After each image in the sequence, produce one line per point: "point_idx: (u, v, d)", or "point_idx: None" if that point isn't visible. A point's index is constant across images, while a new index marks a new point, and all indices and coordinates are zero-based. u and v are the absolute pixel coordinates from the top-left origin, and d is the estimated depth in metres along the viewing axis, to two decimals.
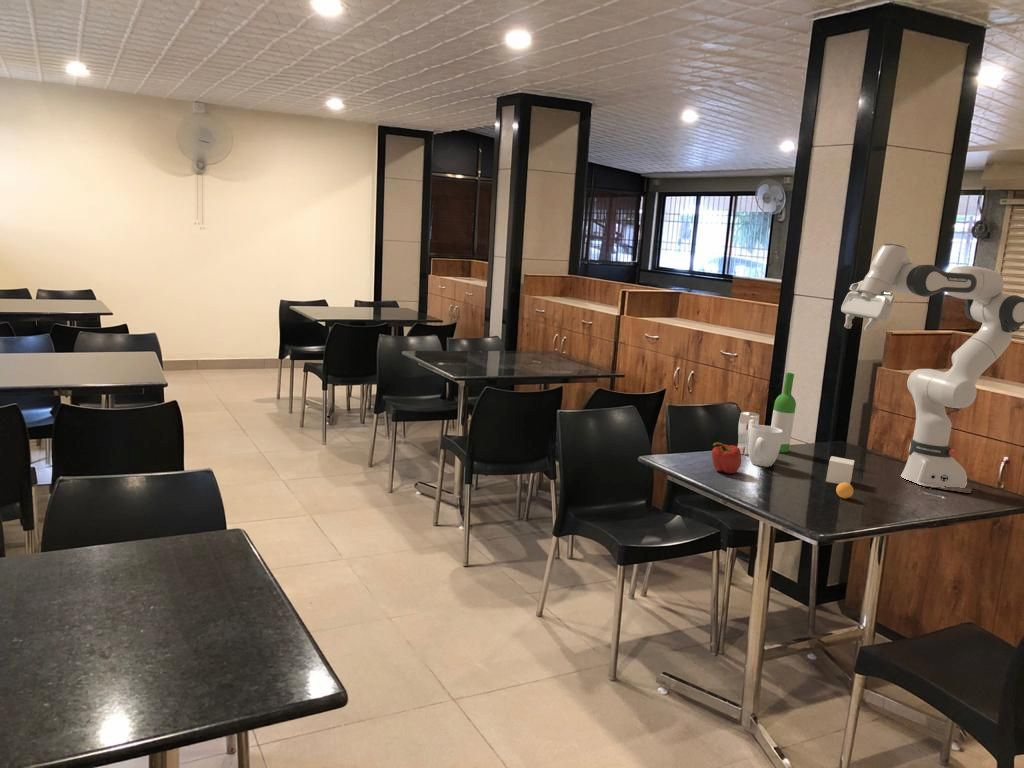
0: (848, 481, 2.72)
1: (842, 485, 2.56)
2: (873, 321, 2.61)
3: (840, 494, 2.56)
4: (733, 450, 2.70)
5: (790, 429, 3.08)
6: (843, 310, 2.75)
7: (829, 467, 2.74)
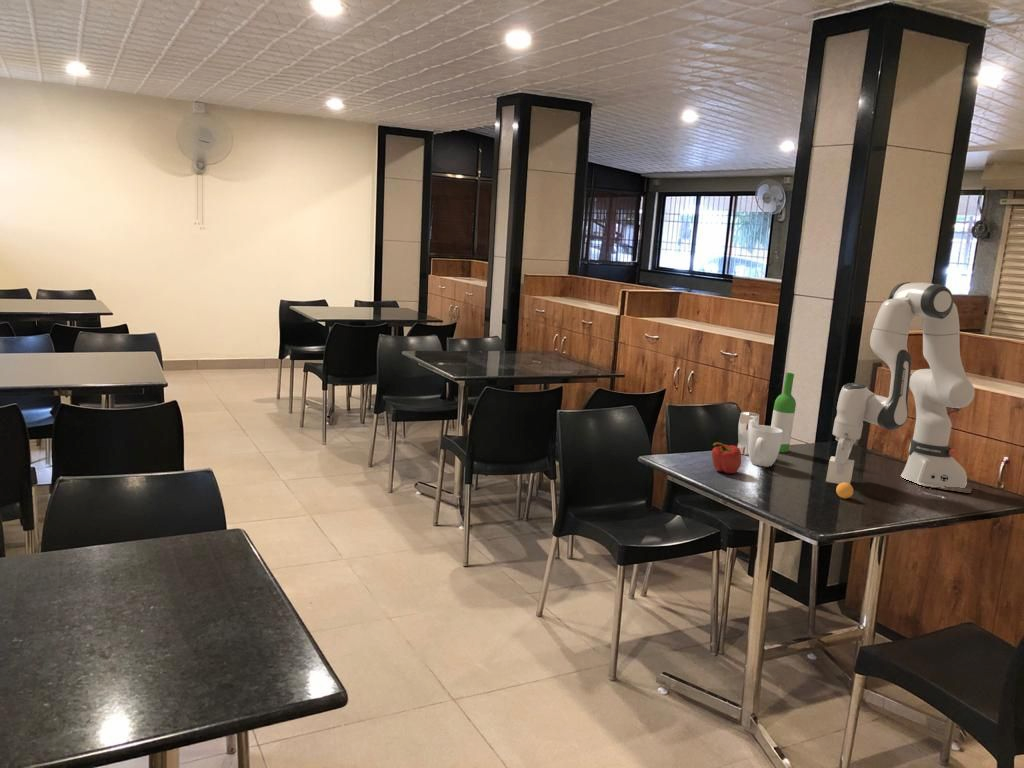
0: (848, 481, 2.72)
1: (842, 485, 2.56)
2: (840, 464, 2.70)
3: (840, 494, 2.56)
4: (733, 450, 2.70)
5: (790, 429, 3.08)
6: None
7: (829, 467, 2.74)
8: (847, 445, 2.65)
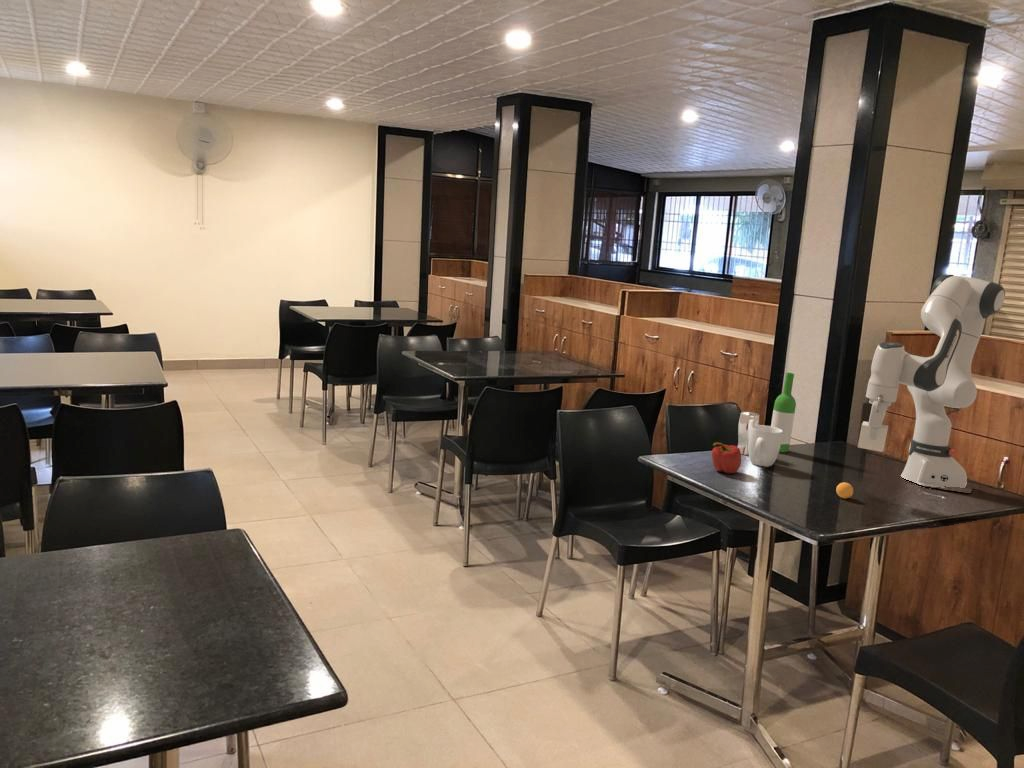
0: (882, 447, 2.54)
1: (842, 485, 2.56)
2: (874, 428, 2.52)
3: (840, 494, 2.56)
4: (733, 450, 2.70)
5: (790, 429, 3.08)
6: None
7: (861, 432, 2.56)
8: (882, 407, 2.47)
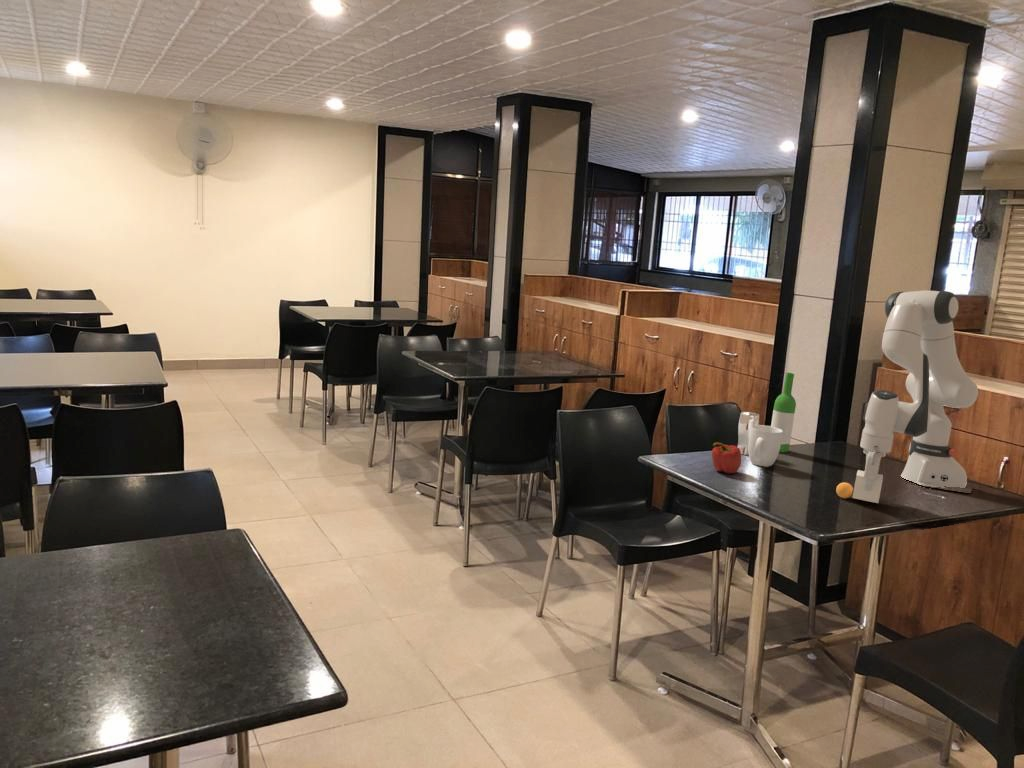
0: (877, 498, 2.50)
1: (842, 485, 2.56)
2: (869, 479, 2.47)
3: (840, 494, 2.56)
4: (733, 450, 2.70)
5: (790, 429, 3.08)
6: None
7: (856, 482, 2.52)
8: (878, 459, 2.43)
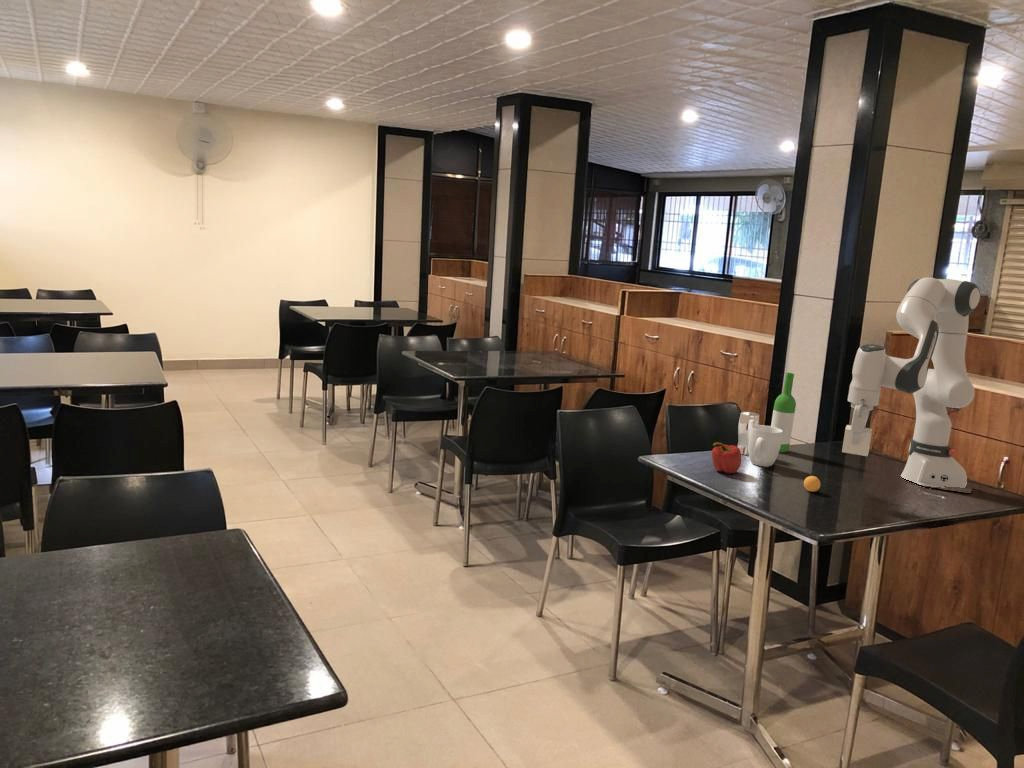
0: (866, 451, 2.49)
1: (817, 488, 2.59)
2: (856, 433, 2.48)
3: (812, 480, 2.59)
4: (733, 450, 2.70)
5: (790, 429, 3.08)
6: None
7: (845, 436, 2.51)
8: (864, 411, 2.43)
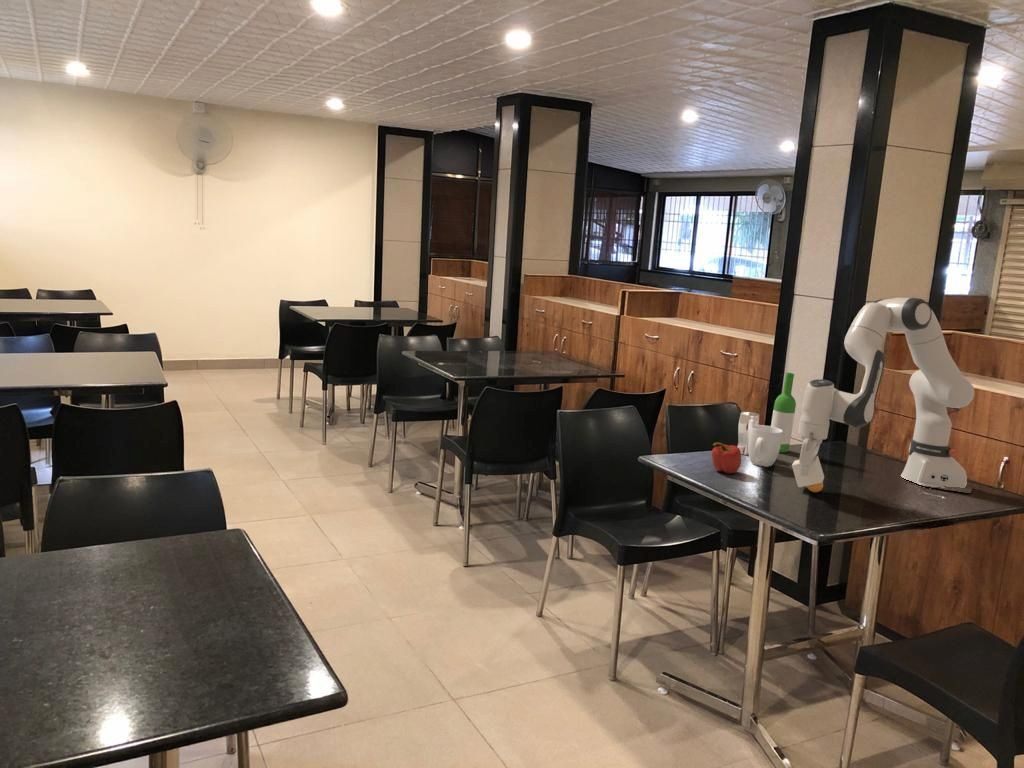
0: (819, 478, 2.56)
1: (818, 490, 2.59)
2: (805, 465, 2.55)
3: None
4: (733, 450, 2.70)
5: (790, 429, 3.08)
6: None
7: (794, 472, 2.59)
8: (812, 445, 2.51)
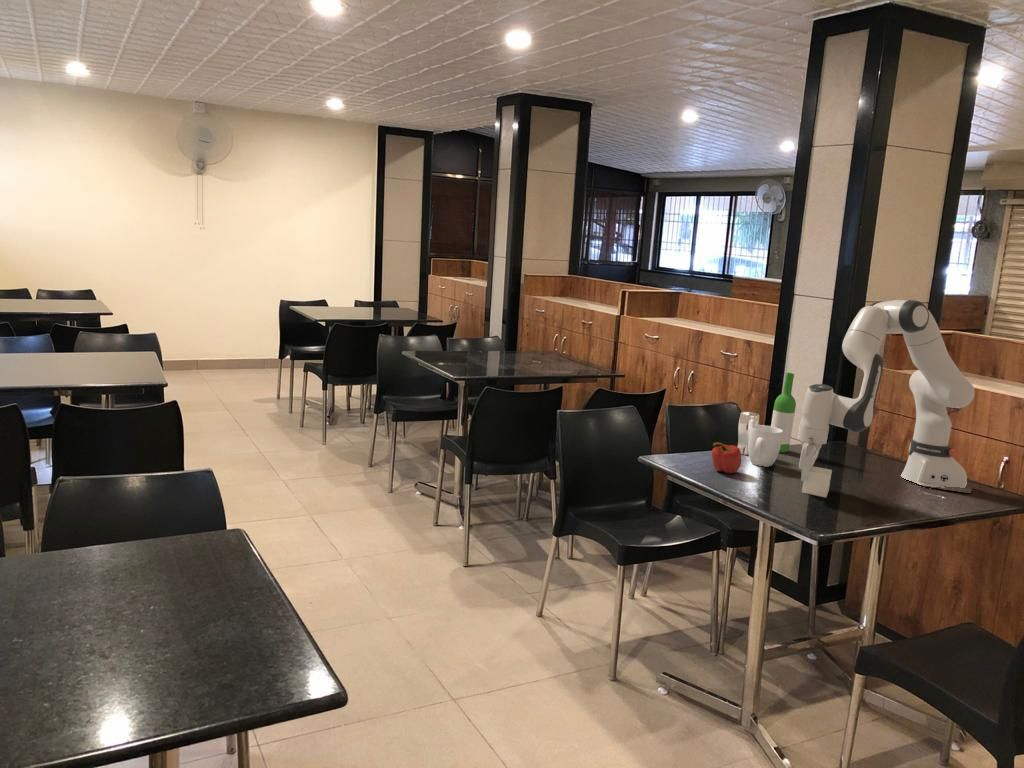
0: (825, 492, 2.56)
1: None
2: (804, 470, 2.55)
3: None
4: (733, 450, 2.70)
5: (790, 429, 3.08)
6: None
7: None
8: (811, 450, 2.51)
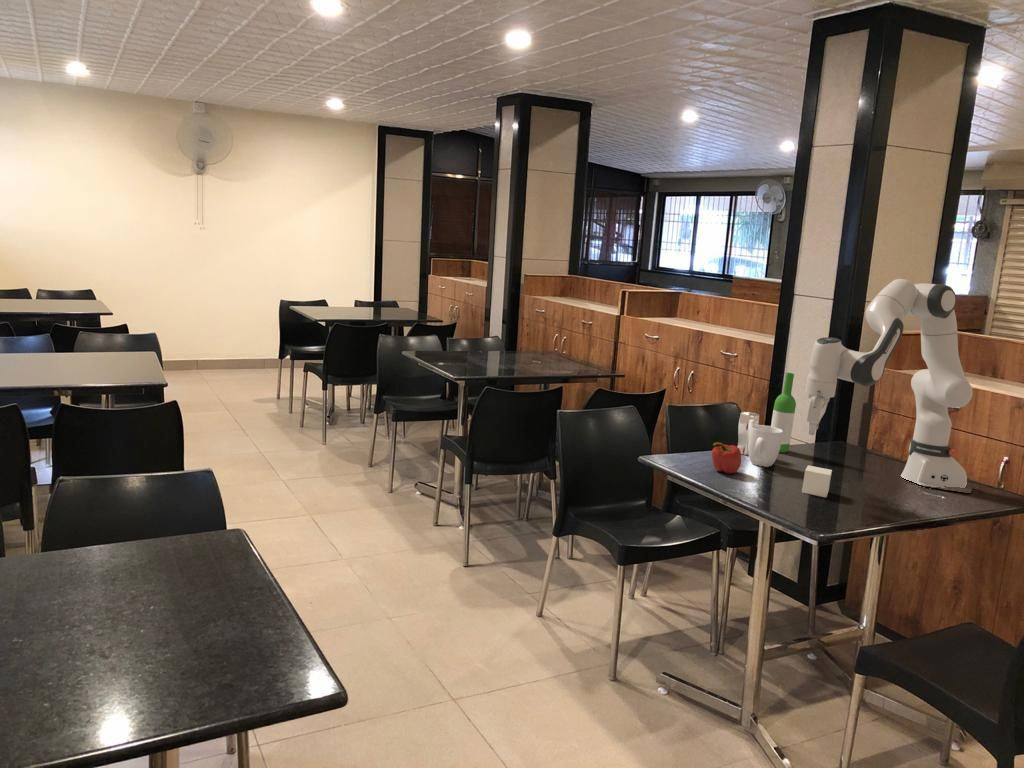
0: (825, 492, 2.56)
1: None
2: (812, 423, 2.53)
3: None
4: (733, 450, 2.70)
5: (790, 429, 3.08)
6: None
7: (805, 477, 2.58)
8: (819, 402, 2.48)
